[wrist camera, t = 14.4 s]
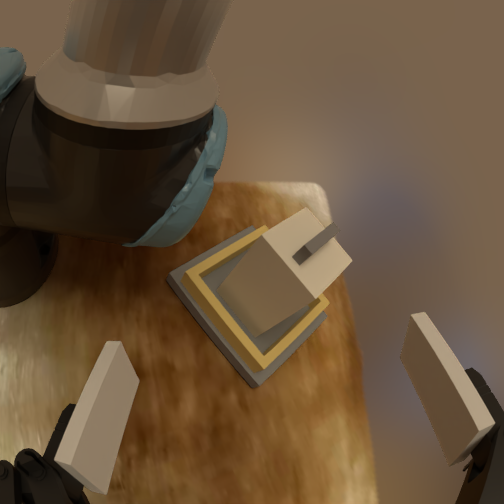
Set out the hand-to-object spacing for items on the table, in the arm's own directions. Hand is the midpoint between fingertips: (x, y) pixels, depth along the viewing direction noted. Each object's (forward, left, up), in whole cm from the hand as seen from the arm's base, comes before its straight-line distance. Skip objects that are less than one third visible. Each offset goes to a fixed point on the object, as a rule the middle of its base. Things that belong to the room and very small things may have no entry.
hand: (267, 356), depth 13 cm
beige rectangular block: (-3, +14, -19) cm, 24 cm away
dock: (-3, +14, -21) cm, 26 cm away
